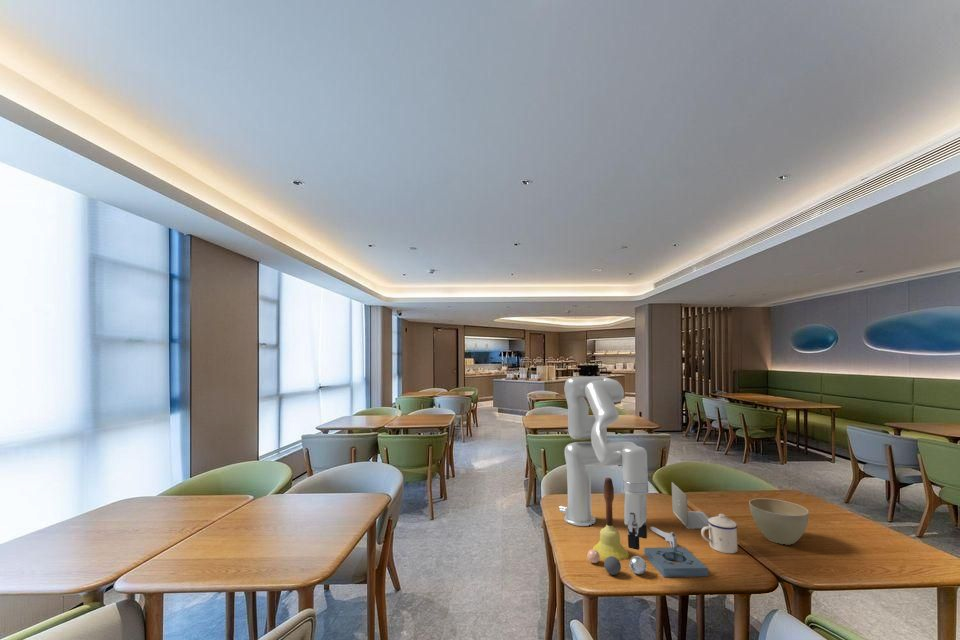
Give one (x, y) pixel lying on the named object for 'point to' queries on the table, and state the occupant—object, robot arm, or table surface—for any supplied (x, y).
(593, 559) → the pink ball
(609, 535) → the handbell
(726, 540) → the teacup with lid
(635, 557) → the steel ball
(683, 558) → the housing plate
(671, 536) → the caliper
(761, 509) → the grey beige bowl
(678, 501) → the laptop
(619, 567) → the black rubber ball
